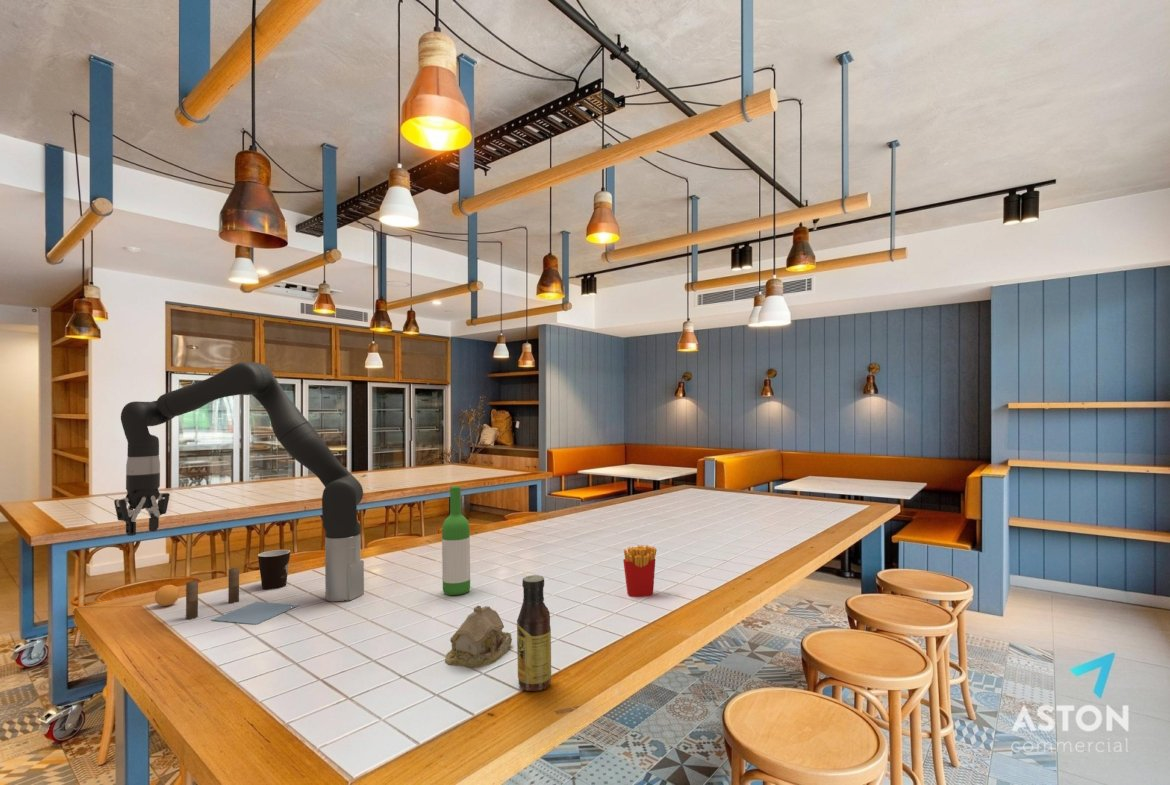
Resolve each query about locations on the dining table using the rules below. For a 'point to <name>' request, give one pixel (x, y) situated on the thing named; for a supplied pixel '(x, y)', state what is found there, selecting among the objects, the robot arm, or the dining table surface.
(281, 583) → the coffee mug
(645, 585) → the french fries
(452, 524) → the wine bottle
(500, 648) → the ceramic model
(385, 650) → the dining table surface
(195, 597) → the left post
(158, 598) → the ball
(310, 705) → the dining table surface
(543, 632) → the sauce bottle
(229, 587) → the right post
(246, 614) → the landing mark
